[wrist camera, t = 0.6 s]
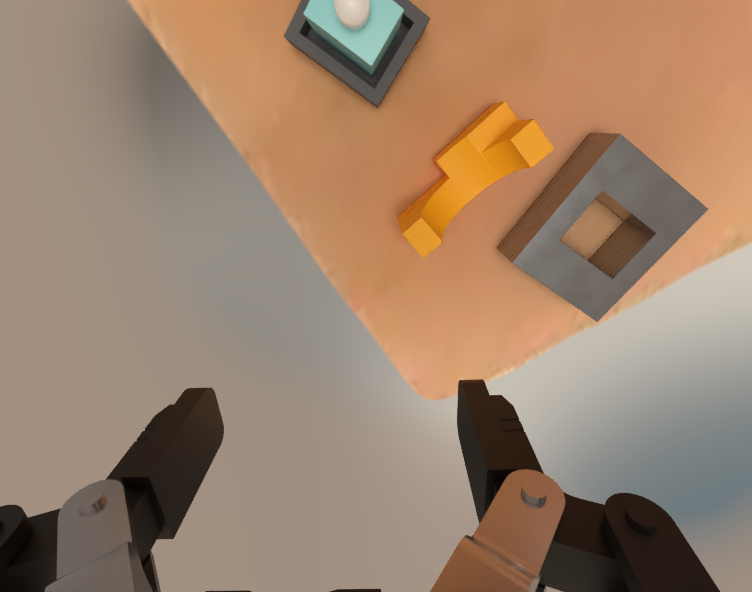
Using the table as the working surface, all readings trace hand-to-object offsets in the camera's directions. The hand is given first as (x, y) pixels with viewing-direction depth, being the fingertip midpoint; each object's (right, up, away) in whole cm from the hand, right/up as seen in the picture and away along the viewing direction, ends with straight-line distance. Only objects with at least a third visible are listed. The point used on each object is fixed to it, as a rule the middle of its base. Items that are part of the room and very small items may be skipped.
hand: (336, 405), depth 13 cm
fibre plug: (0, +23, +17) cm, 29 cm away
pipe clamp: (+8, +14, +22) cm, 28 cm away
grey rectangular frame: (0, +24, +18) cm, 30 cm away
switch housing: (+20, +10, +23) cm, 33 cm away
